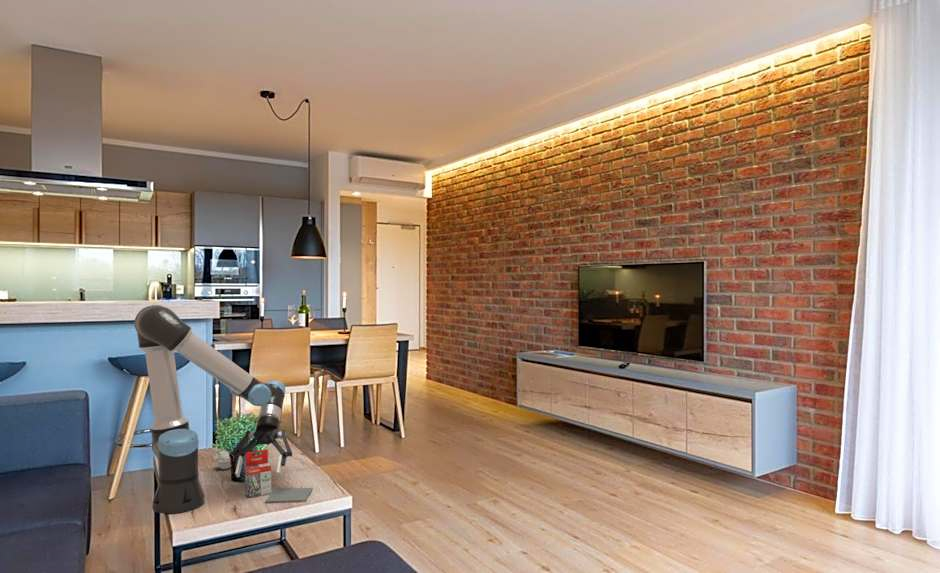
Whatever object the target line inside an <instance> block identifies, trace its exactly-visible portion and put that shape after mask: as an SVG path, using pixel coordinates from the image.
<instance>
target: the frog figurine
mask: <svg viewBox="0 0 940 573" xmlns="http://www.w3.org/2000/svg"><path fill="white" fill-rule="evenodd" d="M225 451H226V450H221V451H219V452H217V453H216V454H215V456H214V457H215V458H214V459H215V461H216V462H217V465H218V467H219V469H221V470H228V469H229V468H231V467H230V457H229V454H230V453H229V452H228V451H226V452H225ZM228 453H229V454H228Z"/></svg>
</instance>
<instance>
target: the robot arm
mask: <svg viewBox="0 0 940 573" xmlns="http://www.w3.org/2000/svg"><path fill="white" fill-rule="evenodd" d="M134 328H135V331H136V334H137V341H138V349H140V350H141V351H143V352H144V354H145V359H146V360H145V361H146V367H147V375H148V376H147V377H148V382H149V390H150V396H151V404H152V410H153V416H154V422H153V423H152V425H151V426H150V433H151V450H152V452H153V454H154V455H155V457H156V459H157V462H158V463H157V466H158V467H157V468H158V485H157V487H156V491H155V494H154V497H153V500H152V510H153V512H155V513H158V514H165V515H166V514H168V513H171V514H178V513H184V512H188V511H189V512H190V511H191V509H192V510H194V508H195V509H197V508H199V507H200V506H202V505H204V503H205V493H204V490H203V487H202V485H201V482H200V479H199V442H200V441H199V437H198V434H197V432H196V431H194V430H192V429H190V425H189V419H188V418H187V417H186V416H185V417H184V415H183V409H182V408H183V407H182V401H181V394H180V386H179V380H178V373H177V372H178V371H177V367H176V358H175V352H177V353H178V354H179V355H181V357H182V356H183V357H184V358H185V359H186V360H188V361H189V362H191V363H192V364H194V365H195V366H196V367H198V368H200V369H201V370H203V371H204V372H205V373H207V374H209V375H210V376H211V377H213V378H214V379H215V380H217V381H218V382H220V383H221V384H223V385H224V386H226V387H227V388H228V389H229V392H230V394H232V395H234V396H236V397H238V398H241V399H244V400H245V401H247V402H248V403H250V404H251V405H252V406H254V407H260V410H259V412H258V418H257V422H256V428H255V431H254V432H253V431H252V432H251V431H249V430H246V431H245V433H244V436H243V437H242V438H241V440H240V441H239V442H238V444H236V446H235V447H234V448H233V450H232V451H231V453H230V454H231V455H232V456H233V458H234V460H235V461H234V467H235V472H234V474H235V476H236V478H240V476H241V472H242V466H243V462H244V459H243V458H244V457H246V452H251V451H252V449H254V448H255V447H257V446H259V445H260V446H263V445H267V446H268V445H271V444H272V446H274V447H275V449H276V450H277V451H278V452H279V457H278V463H277V468H276V474H277V477H281V475H282V474H281V473H282V467H285V466H286V463H287V458H288V457H292V456H293V451H292V449H291V447H290V444H289V441H288V439H287V432H286V429H283V430H281V431H279V428H280V420H281V416H282V410H283V405H284V400H285V397H286V385H285V384H284V383H283V382H282V381H279V380H274V379H273V380H269V381H267V382H266V383H264V382H262V381H259V380H258V379H257V378H256V377H254V376H253V375H251V374H250V373H249V372H247V371H246V370H244V369H243V368H242V367H240V366H239V365H237V364H236V363H235V362H234V361H232V360H231V359H229V358H228V357H227V356H225V355H224V354H222V353H221V352H220V351H218V350H217V349H216V348H215V347H213V346H211V344H209V343H207V342H206V341H205V340H203V339H202V338H201V337H199V336H197V335H196V334H195V333H194V332H193V328H192V327H191V326H189V325H188V324H187V323H185V322H184V321H183V320H182V319H181V318H180V317H179V316H178V315H177V314H176V313H175V312H174V311H173V310H171V308H168V307H166V306H163V305H159V304H152V305H148V306H146V307H143V308H142V309H140V310H139V311H138V313H137V314H136V316H135V318H134ZM278 437H280V439H282V441H283V444H284V446H285V449H286V450H284V448H283V447H282V446H281V445H280V443H279V442H278V441H277V438H278ZM249 441H250V442H249Z"/></svg>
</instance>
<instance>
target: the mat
mask: <svg viewBox="0 0 940 573" xmlns="http://www.w3.org/2000/svg"><path fill="white" fill-rule="evenodd" d="M312 489H314V487H293V488H292V487H290V488H287V487H286V488H274V489H273V490H272V491H271V494H269V496H268V497H267V499H266V500H265V501H264V504H278V503H279V504H283V503H285V502H288V503H302V502H301V501H306V500H307V501H308V499H309V497H310V495H311V493H312V492H311V491H313V490H312ZM308 496H309V497H308ZM307 498H308V499H307ZM307 501H306V502H307Z"/></svg>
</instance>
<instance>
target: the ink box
mask: <svg viewBox="0 0 940 573" xmlns="http://www.w3.org/2000/svg"><path fill="white" fill-rule="evenodd" d="M257 453H259V454H257ZM260 453H261V454H260ZM254 454H255V455H254ZM268 461H269V449H268V448H267V449H259V450H253V451H252V450H251V451H249V452H246V455H245V466H244V472H245V473H244V485H245V487H244V492H245V493H244V495H245V497H247V499H251V498H256V497H259V496H265V495H270V494H271V493H272V465H271V464H270V463H269V462H268Z"/></svg>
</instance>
